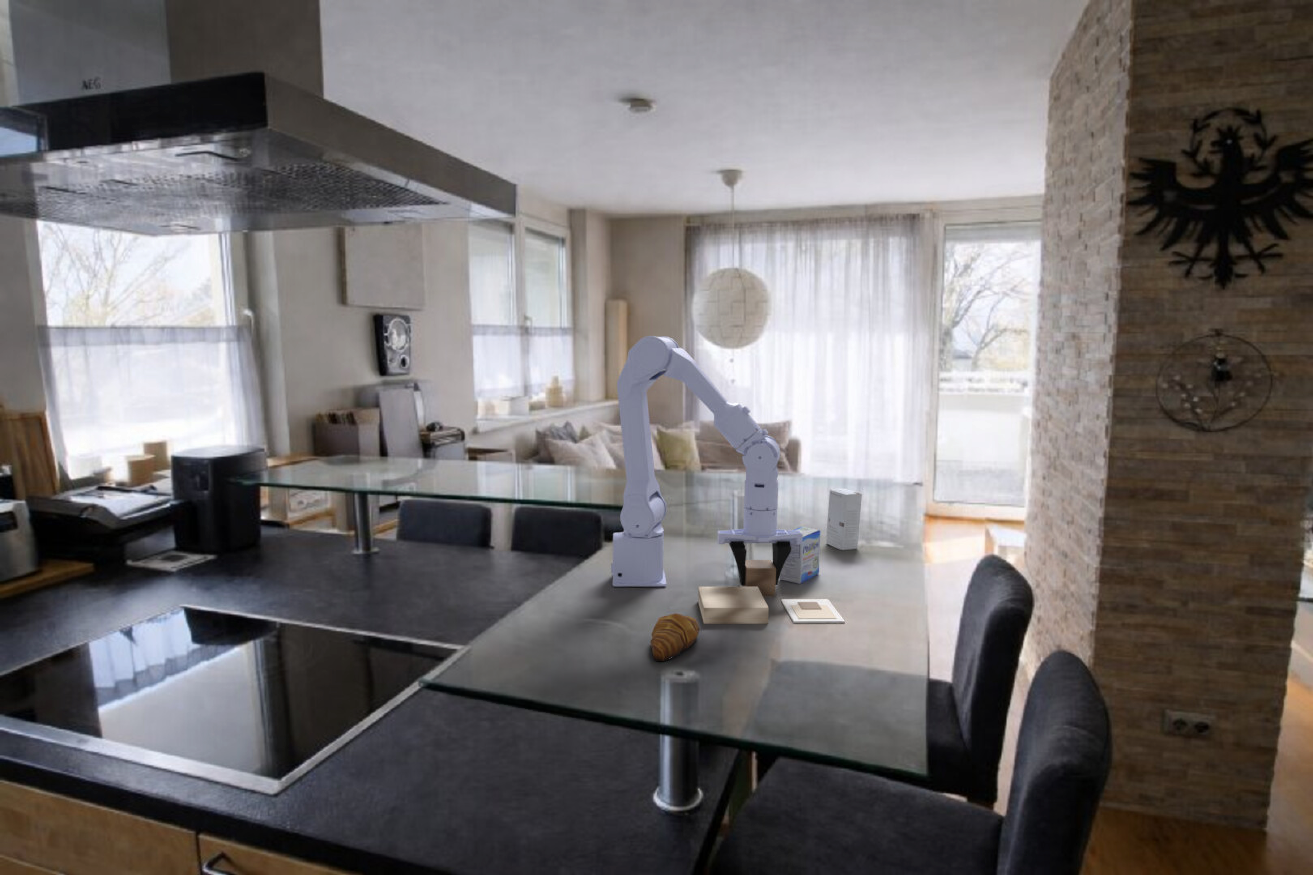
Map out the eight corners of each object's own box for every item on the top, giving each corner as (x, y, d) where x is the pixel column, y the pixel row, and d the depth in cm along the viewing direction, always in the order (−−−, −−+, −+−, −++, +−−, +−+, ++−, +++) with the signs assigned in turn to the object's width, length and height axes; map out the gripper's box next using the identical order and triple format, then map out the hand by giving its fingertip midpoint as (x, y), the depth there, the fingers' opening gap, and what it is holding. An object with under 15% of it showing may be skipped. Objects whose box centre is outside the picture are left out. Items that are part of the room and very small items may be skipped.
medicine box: (800, 585, 136) (802, 538, 134) (778, 580, 138) (779, 534, 137) (819, 574, 142) (821, 529, 141) (798, 569, 144) (799, 525, 143)
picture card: (793, 623, 117) (793, 620, 117) (780, 600, 127) (781, 598, 127) (844, 622, 117) (844, 619, 117) (828, 600, 127) (828, 598, 127)
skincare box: (825, 543, 163) (827, 488, 162) (842, 541, 165) (844, 487, 163) (842, 551, 158) (844, 494, 156) (859, 549, 159) (862, 492, 158)
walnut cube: (746, 596, 129) (746, 568, 129) (741, 587, 134) (742, 559, 134) (775, 596, 129) (776, 568, 129) (769, 587, 134) (770, 559, 134)
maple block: (703, 626, 117) (704, 607, 116) (698, 603, 126) (698, 586, 126) (767, 626, 117) (768, 607, 117) (757, 603, 127) (757, 586, 126)
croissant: (670, 627, 116) (671, 595, 115) (712, 634, 113) (713, 602, 113) (634, 660, 104) (634, 625, 103) (679, 669, 101) (680, 633, 100)
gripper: (721, 512, 126) (719, 591, 127) (807, 512, 126) (804, 590, 128) (716, 503, 133) (715, 577, 134) (798, 503, 133) (795, 577, 135)
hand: (758, 583), depth 132 cm, fingers closed on walnut cube, 5 cm apart
